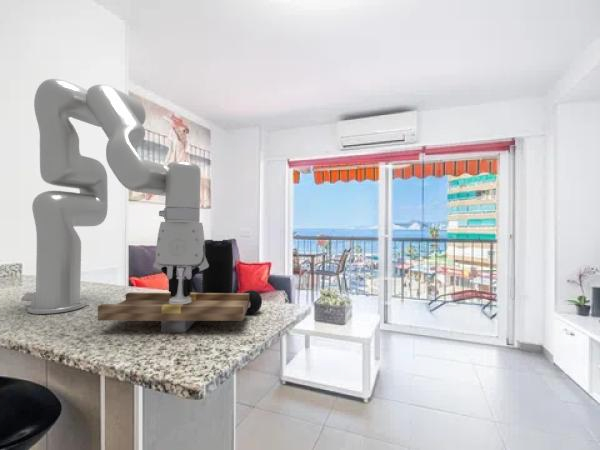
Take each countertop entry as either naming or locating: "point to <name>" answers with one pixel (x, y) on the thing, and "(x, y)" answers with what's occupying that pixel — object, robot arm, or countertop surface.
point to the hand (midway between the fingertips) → (180, 294)
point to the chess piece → (180, 289)
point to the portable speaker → (218, 267)
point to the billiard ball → (254, 301)
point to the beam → (177, 309)
